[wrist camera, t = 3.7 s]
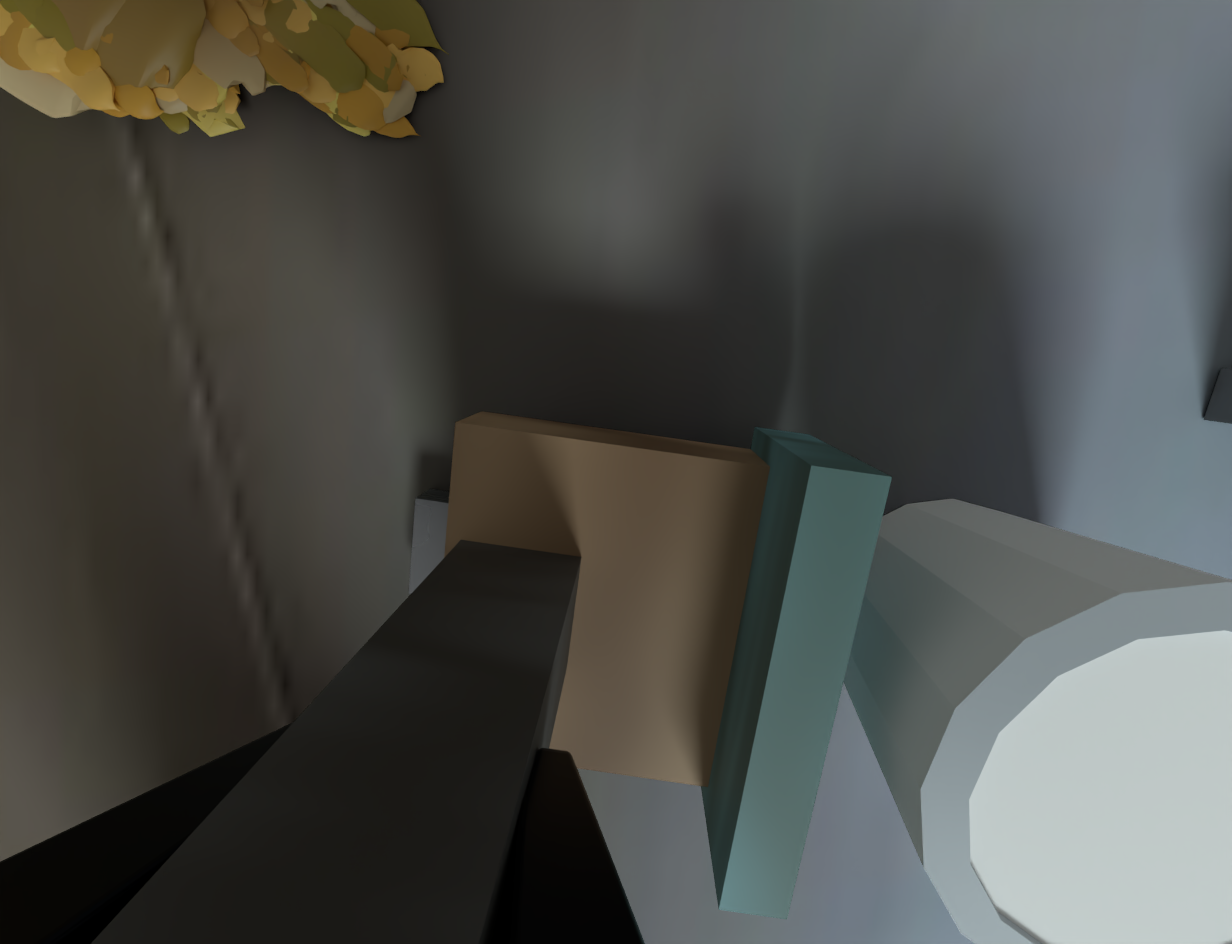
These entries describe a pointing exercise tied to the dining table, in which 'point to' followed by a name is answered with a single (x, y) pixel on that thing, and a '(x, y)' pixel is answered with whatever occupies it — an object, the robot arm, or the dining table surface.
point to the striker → (552, 688)
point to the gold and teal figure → (219, 58)
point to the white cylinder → (1051, 727)
